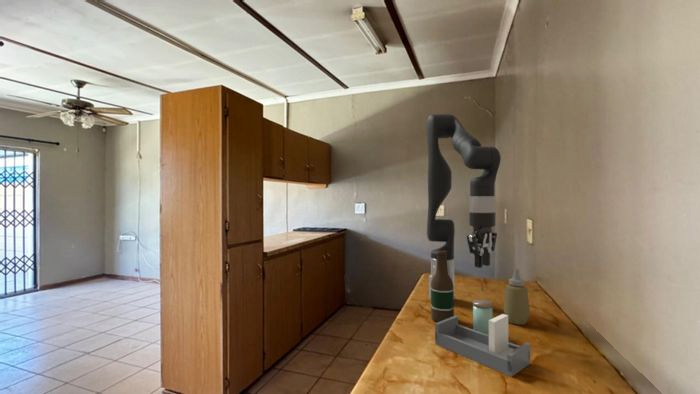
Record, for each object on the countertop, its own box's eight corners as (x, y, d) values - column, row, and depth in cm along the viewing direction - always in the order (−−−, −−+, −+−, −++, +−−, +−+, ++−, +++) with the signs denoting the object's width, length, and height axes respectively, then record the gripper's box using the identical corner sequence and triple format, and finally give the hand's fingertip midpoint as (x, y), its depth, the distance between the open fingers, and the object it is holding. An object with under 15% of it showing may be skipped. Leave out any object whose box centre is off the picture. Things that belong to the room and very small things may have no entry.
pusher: (488, 359, 83) (488, 320, 83) (502, 350, 88) (502, 313, 88) (506, 366, 80) (506, 325, 80) (519, 357, 84) (519, 318, 84)
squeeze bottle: (533, 327, 106) (533, 272, 106) (507, 325, 108) (506, 271, 107) (525, 318, 114) (525, 266, 114) (500, 316, 115) (500, 266, 115)
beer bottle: (455, 317, 115) (454, 249, 115) (452, 325, 108) (451, 253, 108) (432, 314, 118) (432, 248, 118) (428, 322, 111) (428, 251, 111)
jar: (469, 333, 102) (468, 301, 102) (479, 328, 105) (479, 297, 105) (486, 339, 97) (486, 306, 97) (496, 334, 101) (496, 302, 101)
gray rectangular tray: (435, 344, 95) (435, 323, 95) (455, 334, 101) (455, 315, 101) (511, 376, 77) (511, 351, 77) (530, 363, 83) (530, 340, 83)
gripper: (481, 212, 94) (481, 271, 94) (505, 210, 102) (505, 265, 102) (458, 211, 100) (458, 267, 100) (483, 209, 108) (483, 261, 108)
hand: (482, 266), depth 101 cm, fingers open, 4 cm apart
